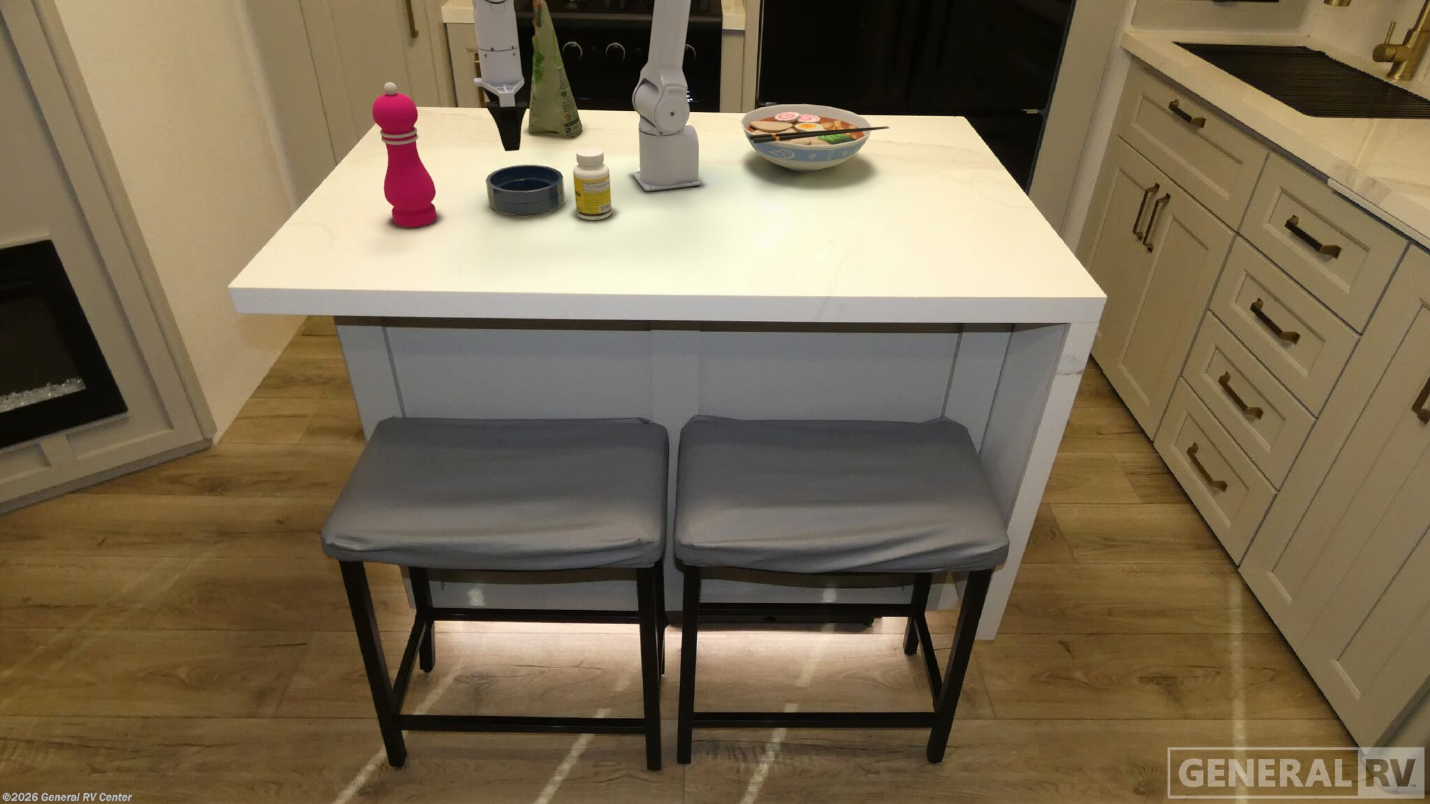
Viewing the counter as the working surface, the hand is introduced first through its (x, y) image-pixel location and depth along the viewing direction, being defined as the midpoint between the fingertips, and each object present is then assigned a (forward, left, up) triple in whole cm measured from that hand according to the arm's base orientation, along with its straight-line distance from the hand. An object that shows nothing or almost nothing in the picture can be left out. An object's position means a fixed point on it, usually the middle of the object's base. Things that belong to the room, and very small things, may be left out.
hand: (509, 141), depth 130 cm
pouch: (-12, -33, -10) cm, 37 cm away
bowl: (-1, +1, -10) cm, 10 cm away
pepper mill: (+16, +2, -10) cm, 19 cm away
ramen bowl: (-50, -2, -10) cm, 52 cm away
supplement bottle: (-10, +8, -10) cm, 16 cm away
